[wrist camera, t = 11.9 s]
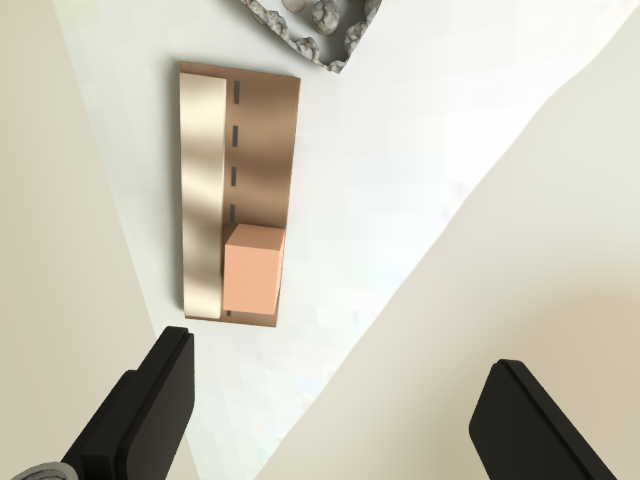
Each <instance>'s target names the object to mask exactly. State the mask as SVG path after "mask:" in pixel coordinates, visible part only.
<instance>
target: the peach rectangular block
mask: <svg viewBox="0 0 640 480" xmlns="http://www.w3.org/2000/svg"><path fill="white" fill-rule="evenodd" d="M284 237H285V229H281V228H273V227H264V226H256V225H247V224H238V226H237V227H236V229H235V230H234V232H233V234H232V235H231V237H230V238H229V240H228V241H227V243H226V244H225V269H224V303H223V310H231V311H241V312H250V313H260V314H270V315H274V312H275V307H276V302H277V297H278V292H279V287H280V278H281V268H282V258H283V248H284Z"/></svg>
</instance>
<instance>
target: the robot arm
mask: <svg viewBox="0 0 640 480" xmlns="http://www.w3.org/2000/svg"><path fill="white" fill-rule="evenodd" d="M194 401H195V385H194V334H193V333H188V328H183V327H173V326H167V327H166V328H165V329H164V331H163V332H162V334H161V335H160V337H159V338H158V340H157V341H156V343H155V344H154V346H153V347H152V349H151V350H150V352H149V353H148V355H147V356H146V357H145V359H144V360H143V362H142V363H141V365H140V367H139V368H138V369H137V370H128V371H126V372H125V373H124V374H123V375H122V377H121V378H120V379H119V381H118V382H117V384H116V385H115V386H114V388H113V389H112V390H111V392H110V393H109V395H108V396H107V397H106V399H105V400H104V402H103V403H102V404H101V406H100V407H99V408H98V410H97V411H96V413H95V414H94V415H93V417H92V418H91V420H90V421H89V422H88V424H87V425H86V427H85V428H84V429H83V431H82V432H81V434H80V435H79V436H78V438H77V439H76V440H75V442H74V443H73V445H72V446H71V447H70V449H69V450H68V452H67V453H66V454H65V456H64V457H63V459H62V460H61V461H60V462H51V463H43V464H40V465H37V466H34V467H31V468H29V469H27V470H25V471H24V472H22V473H20V474H18V475H16V476H15V477H14V478H12V479H11V480H165V479H166V476H167V473H168V471H169V469H170V466H171V464H172V461H173V459H174V456H175V454H176V451H177V449H178V446H179V444H180V441H181V439H182V436H183V434H184V432H185V429H186V427H187V424H188V422H189V419H190V417H191V414H192V411H193V408H194ZM469 434H470V437H471V440H472V442H473V444H474V446H475V448H476V450H477V452H478V455H479V456H480V459H481V461H482V463H483V465H484V467H485V469H486V472H487V474H488V476H489V478H490V480H617V479H616V477H615V476H614V475H613V474H612V473H611V471H610V470H609V469H608V468H607V466H606V465H605V464H604V463H603V461H602V460H601V459H600V458H599V456H598V455H597V454H596V453H595V451H594V450H593V449H592V448H591V447H590V445H589V444H588V443H587V442H586V440H585V439H584V438H583V437H582V435H581V434H580V433H579V432H578V431H577V429H576V428H575V427H574V426H573V424H572V423H571V422H570V421H569V419H568V418H567V417H566V416H565V414H564V413H563V412H562V411H561V409H560V408H559V407H558V406H557V404H556V403H555V402H554V401H553V399H552V398H551V397H550V396H549V395H548V393H547V392H546V391H545V390H544V388H543V387H542V386H541V385H540V383H539V382H538V381H537V380H536V378H535V377H534V376H533V375H532V373H531V372H530V371H529V370H528V368H527V367H526V366H525V365H524V364H523V363H522V362H521V361H517V360H507V359H500V360H499V361H498V362H497V363H495V364H493V366H492V368H491V370H490V373H489V375H488V378H487V380H486V383H485V385H484V388H483V390H482V393H481V395H480V398H479V400H478V403H477V406H476V408H475V411H474V413H473V416H472V418H471V421H470V424H469Z"/></svg>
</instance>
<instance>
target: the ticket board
mask: <svg viewBox="0 0 640 480" xmlns="http://www.w3.org/2000/svg"><path fill="white" fill-rule="evenodd" d="M179 74H180V125H181V175H182V225H183V276H184V315H185V318H187V319H197V320H207V321H217V322H227V323H237V324H247V325H257V326H266V327H276V324H277V316H278V306H279V296H280V287H279V292H278V297H277V302H276V307H275V312H274V315H270V314H260V313H250V312H241V311H231V310H223V303H224V269H225V244H226V243H227V241H228V240H229V238H230V237H231V235H232V234H233V232H234V230H235V229H236V227H237V226H238V224H247V225H256V226H264V227H273V228H281V229H285V235H286V225H287V214H288V204H289V194H290V184H291V174H292V163H293V153H294V143H295V133H296V123H297V112H298V102H299V92H300V82H301V79H300V78H296V77H289V76H282V75H275V74H268V73H261V72H254V71H247V70H240V69H233V68H226V67H219V66H212V65H205V64H198V63H191V62H184V61H180V73H179ZM284 245H285V237H284ZM283 255H284V248H283ZM282 265H283V258H282ZM281 275H282V268H281ZM280 286H281V278H280Z"/></svg>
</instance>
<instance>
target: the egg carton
mask: <svg viewBox="0 0 640 480" xmlns="http://www.w3.org/2000/svg"><path fill="white" fill-rule="evenodd" d="M241 1H242V2H243V3H244V4H245V5H247V6H248V7H249V8H250V9H251V10H252V11H253V16H254V17H255V18H256V19H257V20H258V21H259V22H260V23H262V24H263V25H264V24H265V25H266V24H268V25H269V27H270V28H271V29H272V30H273V31H274V32H276V33H277V34H278V35H279V36H281V37H282V38H283V39H284V40H285V41H286V42H287V43H288V44H289V45H290V46H291V47H292V48H293V49H295V50H296V51H297V52H298V53H300V54H301V55H303V56H304V57H306V58H308V59H310V60H311V61H313V62H315V63H316V64H318V65H320V66H322V67H324V68H325V69H327V70H328V71H333V72H336V73H337V74H339V73H340V71H341V70H342V68H343V67H344V66H345V65H346V63H347V61H348V60H349V58H350V55H351V53H352V51H353V50H354V49H355V48H356V46H357V45H358V43H359V41H360V39H361V37H362V36H363V34H364V33H365V31H366V29H367V27H368V26H369V24H371V22H372V21H373V19H374V17H375V15H376V13H377V11H378V9H379V6H380V4H381V2H382V0H366V2H365V6H364V13H365V16H366V21H365V22H358V23H357V24H355V25H354V26H352V27H350V28H349V29H348V30H347V32H346V34H345V35H346V36H345V38H344V49H345V51H346V53H347V54H348V58H347V59H346V61H345V62H341V61H338V60H336V61H332V62H331V63H330V64H329V65H327V66H326V65H324V64H322V63H321V62H320V61H319V48H318V46H317V44H316V43H315V41H314V39H313V38H311V37H308V38H303V39H300V40H298V41H297V42H296V43H293V42H292V41H291V40H290V38H289V31H288V27H287V26H286V22H285V20H284V18H283V17H281V16H279V14H278V12H277V11H271V10H270V11H267V10H266V9H265V8H263V7H262V6H261V5H260V4H259V3H258V2H257V1H256V0H241ZM306 1H307V0H282V2H283V5H284V6H285V8H286V9H287V10H289V11H290V12H299V11H301V10H302V9H303V8H304V7H305V5H306ZM312 18H313V23H314V27H315V29H316V31H317V32H318V33H320V34H321V35H325V36H328V35H331V34H332V33H333V32H334V31H335V30H336V29H337V26H338V23H339V19H340V11H339V9H338V7H337V4H336V3H335V2H334V1H333V0H320V1H318V2H317V3H316V5H315V7H314V9H313V11H312Z"/></svg>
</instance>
